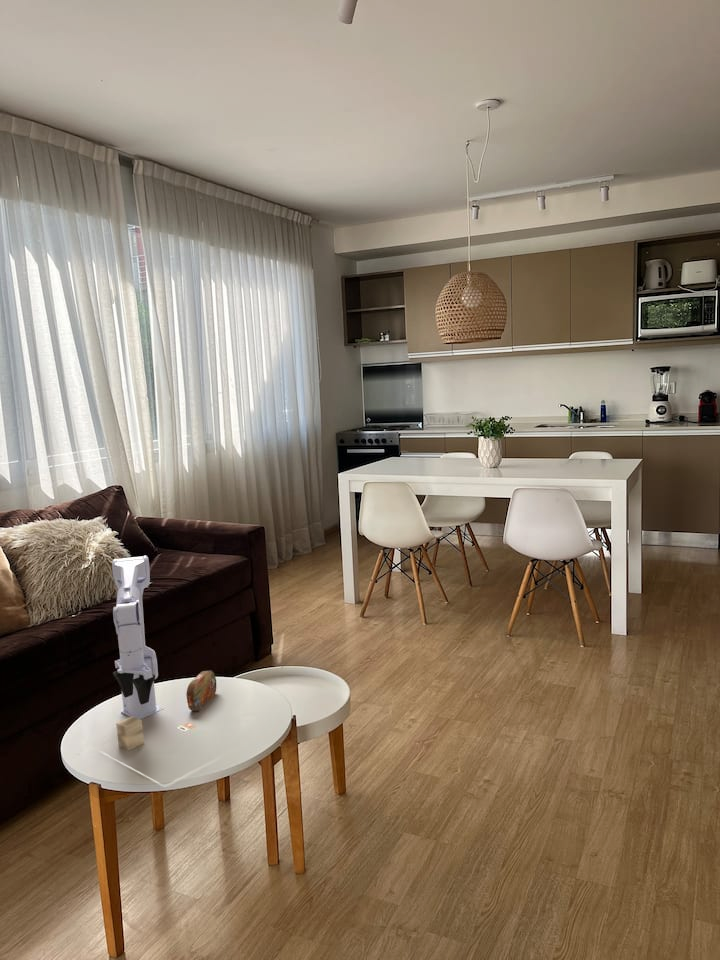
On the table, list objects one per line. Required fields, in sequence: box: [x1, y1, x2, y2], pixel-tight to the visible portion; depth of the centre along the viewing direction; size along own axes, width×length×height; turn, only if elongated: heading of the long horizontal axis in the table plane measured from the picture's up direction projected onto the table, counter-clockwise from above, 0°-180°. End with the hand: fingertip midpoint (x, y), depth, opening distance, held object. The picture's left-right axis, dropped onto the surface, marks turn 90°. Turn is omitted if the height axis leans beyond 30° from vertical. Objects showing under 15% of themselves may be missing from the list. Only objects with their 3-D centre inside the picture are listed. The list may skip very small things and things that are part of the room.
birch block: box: [115, 716, 145, 751], centre depth 180 cm, size 4×4×6 cm
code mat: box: [176, 722, 196, 732], centre depth 188 cm, size 12×12×1 cm
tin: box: [185, 670, 217, 712], centre depth 202 cm, size 15×3×8 cm, turn 168°
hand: (136, 699), depth 183 cm, fingers open, 7 cm apart
